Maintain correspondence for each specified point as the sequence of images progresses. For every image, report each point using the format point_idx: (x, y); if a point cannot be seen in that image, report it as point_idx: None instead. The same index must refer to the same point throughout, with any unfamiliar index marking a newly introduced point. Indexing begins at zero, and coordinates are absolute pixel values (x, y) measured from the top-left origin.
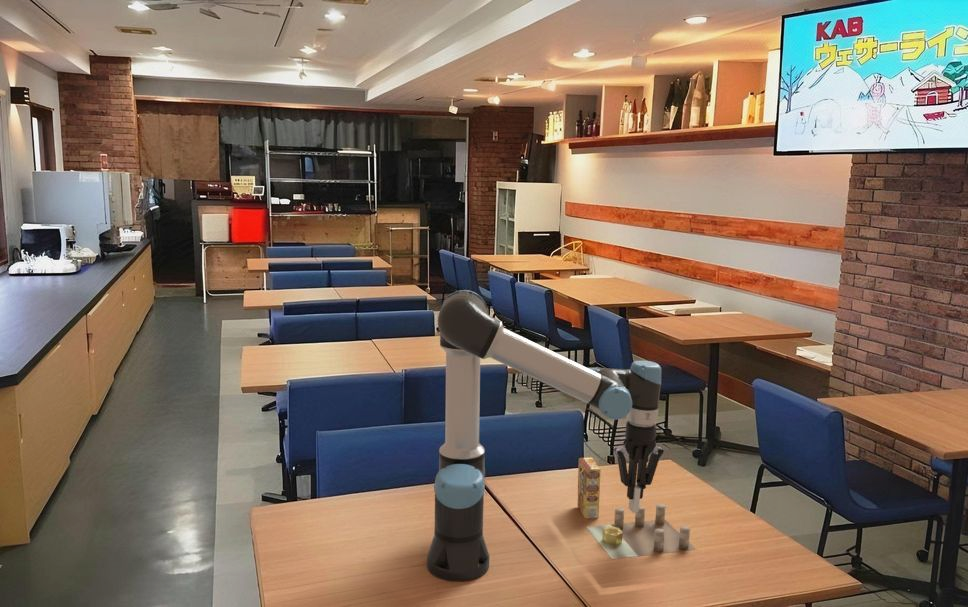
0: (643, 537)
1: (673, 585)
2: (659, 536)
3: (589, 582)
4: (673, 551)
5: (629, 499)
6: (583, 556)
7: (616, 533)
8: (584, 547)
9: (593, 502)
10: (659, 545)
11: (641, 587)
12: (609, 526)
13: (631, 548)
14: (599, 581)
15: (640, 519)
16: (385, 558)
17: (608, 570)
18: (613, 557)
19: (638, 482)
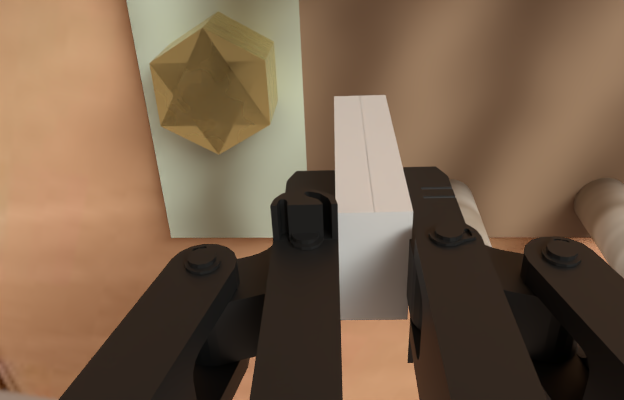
0: (435, 65)
1: (371, 392)
2: None
3: (52, 323)
4: (511, 232)
5: (334, 130)
6: (51, 143)
7: (225, 131)
8: (68, 56)
9: None
10: None
11: (244, 381)
12: (207, 31)
13: (305, 169)
14: (93, 324)
15: None
16: None
17: (148, 267)
18: (181, 228)
19: (417, 293)
